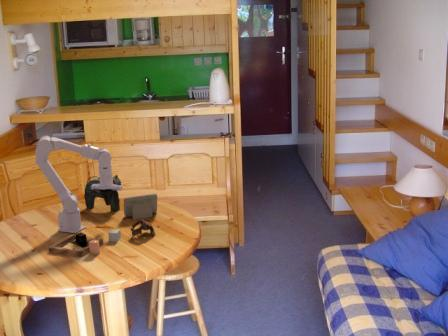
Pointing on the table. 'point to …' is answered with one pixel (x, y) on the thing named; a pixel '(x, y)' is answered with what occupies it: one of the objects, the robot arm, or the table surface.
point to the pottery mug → (142, 227)
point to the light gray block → (114, 235)
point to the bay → (57, 249)
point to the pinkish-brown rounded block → (94, 247)
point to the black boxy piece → (80, 240)
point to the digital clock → (140, 206)
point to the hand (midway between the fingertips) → (108, 204)
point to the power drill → (93, 193)
